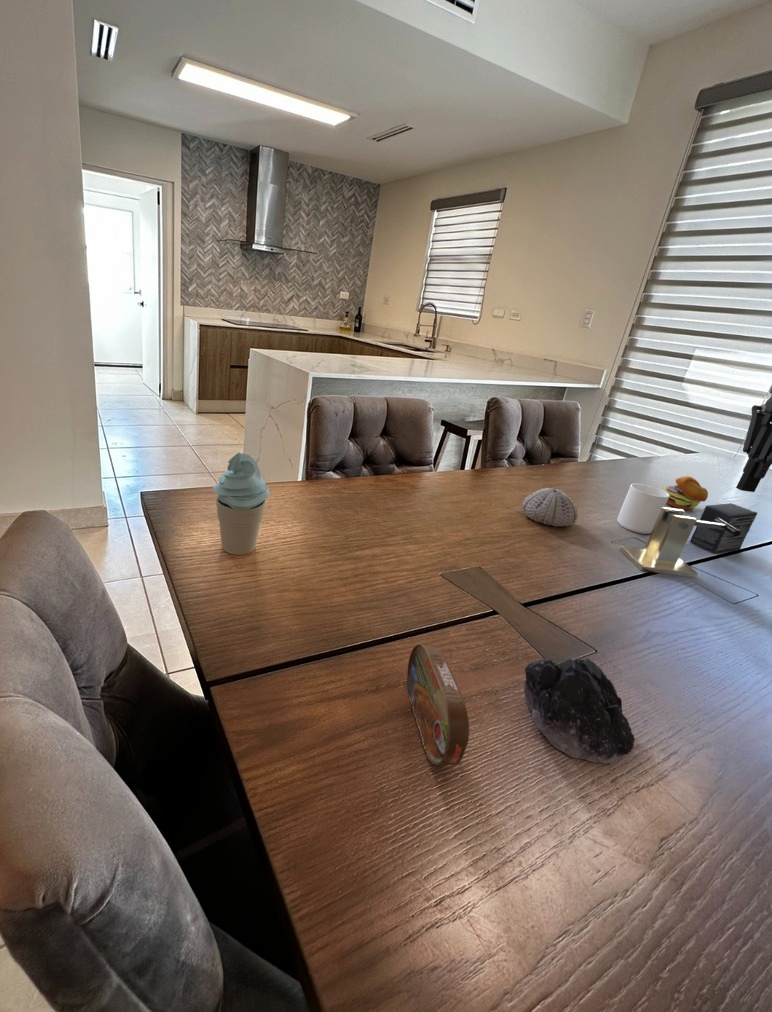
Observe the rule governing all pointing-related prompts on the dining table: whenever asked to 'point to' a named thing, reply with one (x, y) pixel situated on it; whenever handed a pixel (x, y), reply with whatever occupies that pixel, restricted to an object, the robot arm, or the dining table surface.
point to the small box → (721, 538)
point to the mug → (642, 508)
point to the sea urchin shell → (550, 507)
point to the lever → (710, 524)
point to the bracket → (665, 546)
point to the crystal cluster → (578, 709)
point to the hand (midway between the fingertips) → (745, 489)
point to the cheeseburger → (686, 493)
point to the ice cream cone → (240, 504)
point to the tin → (437, 705)
